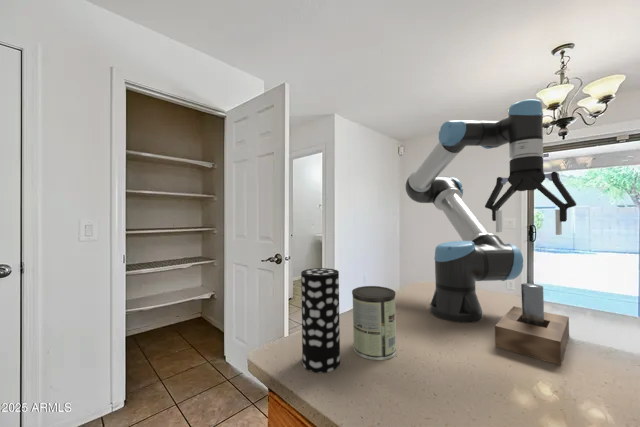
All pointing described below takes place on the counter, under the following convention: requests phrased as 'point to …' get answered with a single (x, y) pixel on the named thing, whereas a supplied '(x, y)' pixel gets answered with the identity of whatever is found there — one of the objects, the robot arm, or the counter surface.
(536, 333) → the socket block
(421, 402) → the counter surface
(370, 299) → the coffee can
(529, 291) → the peg
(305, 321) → the spotted tube
